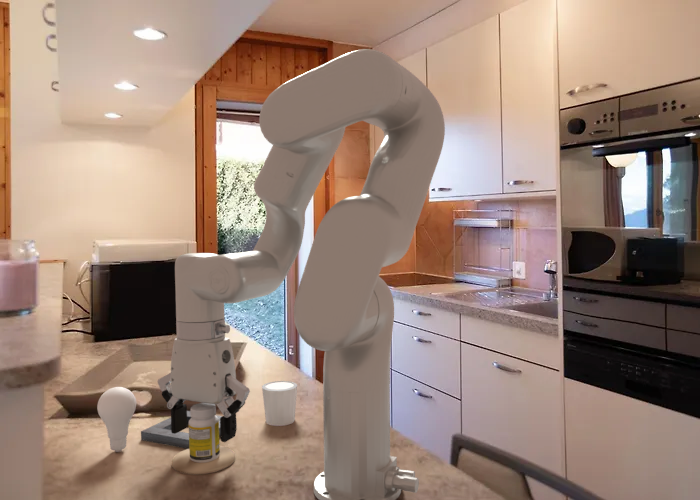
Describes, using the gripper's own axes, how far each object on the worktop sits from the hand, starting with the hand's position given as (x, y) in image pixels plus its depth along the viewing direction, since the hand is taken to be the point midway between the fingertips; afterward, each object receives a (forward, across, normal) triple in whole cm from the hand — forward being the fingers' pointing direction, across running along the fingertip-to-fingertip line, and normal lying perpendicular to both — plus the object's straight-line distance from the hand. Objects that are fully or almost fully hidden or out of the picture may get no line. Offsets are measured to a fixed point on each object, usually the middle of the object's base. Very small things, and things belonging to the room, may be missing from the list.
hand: (203, 434), depth 93 cm
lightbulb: (+4, +16, +2) cm, 17 cm away
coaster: (+4, 0, 0) cm, 4 cm away
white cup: (+4, -2, -21) cm, 22 cm away
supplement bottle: (+4, 0, 0) cm, 4 cm away
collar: (+4, +10, -9) cm, 14 cm away
